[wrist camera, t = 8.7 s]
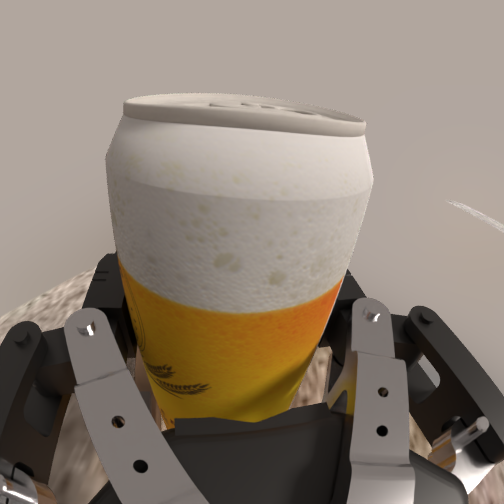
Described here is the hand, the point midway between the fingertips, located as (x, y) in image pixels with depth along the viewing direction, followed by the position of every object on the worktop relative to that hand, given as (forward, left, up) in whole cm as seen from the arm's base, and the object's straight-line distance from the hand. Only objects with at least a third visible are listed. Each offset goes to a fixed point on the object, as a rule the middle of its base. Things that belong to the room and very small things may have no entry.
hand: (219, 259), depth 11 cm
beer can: (0, -3, -9) cm, 10 cm away
